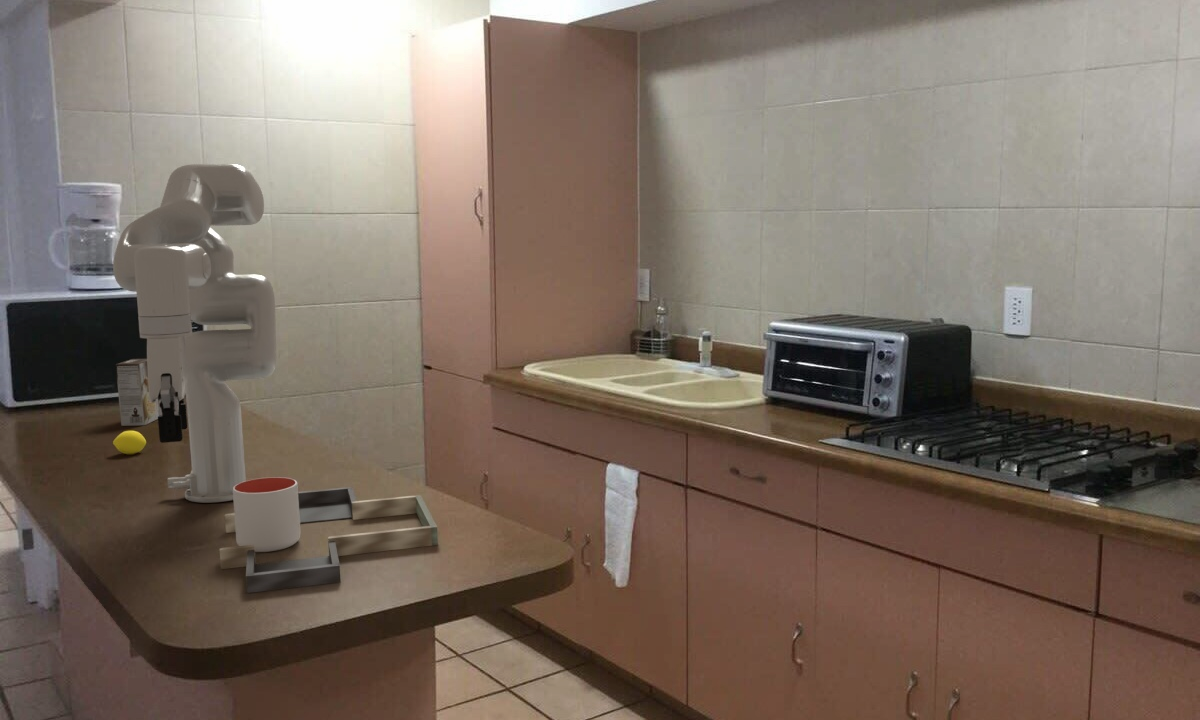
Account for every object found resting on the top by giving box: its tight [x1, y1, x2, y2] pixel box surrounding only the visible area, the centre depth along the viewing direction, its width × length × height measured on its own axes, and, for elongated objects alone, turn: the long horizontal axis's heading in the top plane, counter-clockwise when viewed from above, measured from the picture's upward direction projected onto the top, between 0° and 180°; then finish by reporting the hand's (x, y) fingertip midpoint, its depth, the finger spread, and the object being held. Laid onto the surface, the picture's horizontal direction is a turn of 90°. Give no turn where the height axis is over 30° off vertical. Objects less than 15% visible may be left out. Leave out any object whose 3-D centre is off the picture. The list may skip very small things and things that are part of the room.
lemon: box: [112, 430, 147, 455], centre depth 238 cm, size 7×5×5 cm
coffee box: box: [115, 358, 159, 427], centre depth 272 cm, size 9×6×16 cm
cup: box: [232, 476, 302, 553], centre depth 171 cm, size 10×10×10 cm
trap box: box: [219, 486, 439, 594], centre depth 175 cm, size 33×44×3 cm
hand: (174, 435), depth 165 cm, fingers open, 9 cm apart
